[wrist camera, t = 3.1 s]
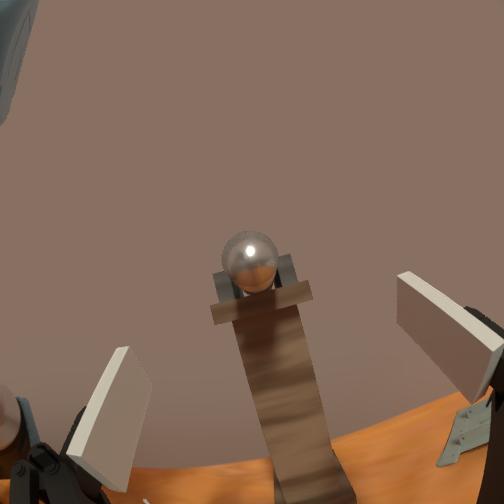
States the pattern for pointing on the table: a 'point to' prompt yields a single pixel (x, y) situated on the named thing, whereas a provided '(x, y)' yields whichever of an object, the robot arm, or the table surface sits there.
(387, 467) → the table surface
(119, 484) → the robot arm
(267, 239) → the chrome rounded rod
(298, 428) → the walnut stand
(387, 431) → the table surface
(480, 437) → the metal bracket
